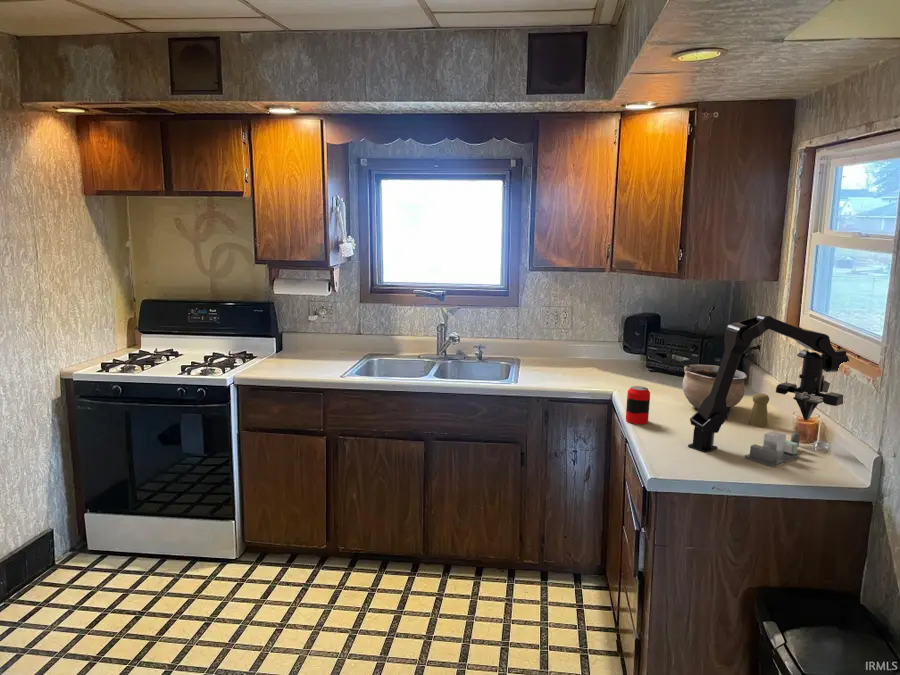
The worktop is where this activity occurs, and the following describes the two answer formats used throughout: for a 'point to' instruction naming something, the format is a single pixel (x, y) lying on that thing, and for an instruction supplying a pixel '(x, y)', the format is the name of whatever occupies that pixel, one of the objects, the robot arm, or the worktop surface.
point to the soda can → (637, 405)
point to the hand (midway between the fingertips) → (806, 420)
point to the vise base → (769, 456)
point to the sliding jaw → (792, 443)
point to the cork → (759, 410)
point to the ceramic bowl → (710, 384)
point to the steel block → (775, 442)
